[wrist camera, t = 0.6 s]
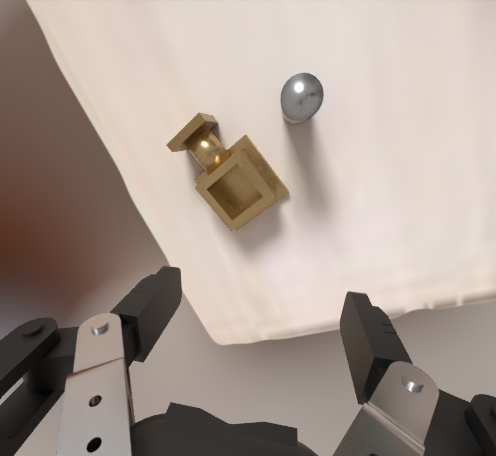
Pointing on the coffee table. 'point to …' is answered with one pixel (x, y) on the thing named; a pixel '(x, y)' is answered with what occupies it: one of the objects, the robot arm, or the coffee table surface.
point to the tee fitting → (229, 173)
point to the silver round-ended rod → (301, 97)
